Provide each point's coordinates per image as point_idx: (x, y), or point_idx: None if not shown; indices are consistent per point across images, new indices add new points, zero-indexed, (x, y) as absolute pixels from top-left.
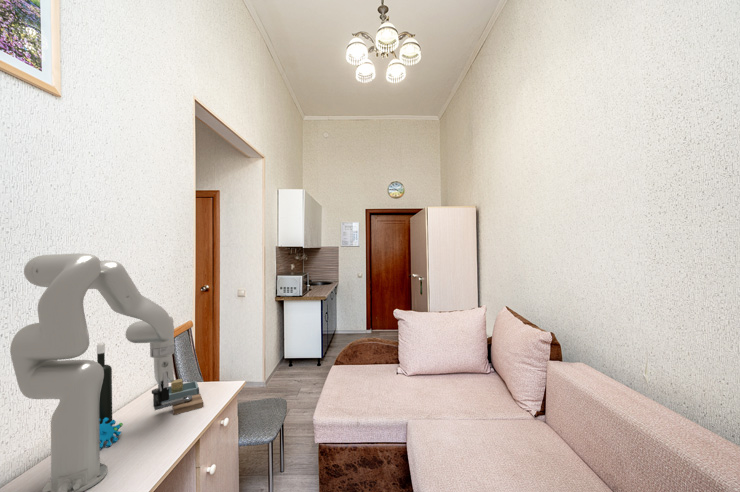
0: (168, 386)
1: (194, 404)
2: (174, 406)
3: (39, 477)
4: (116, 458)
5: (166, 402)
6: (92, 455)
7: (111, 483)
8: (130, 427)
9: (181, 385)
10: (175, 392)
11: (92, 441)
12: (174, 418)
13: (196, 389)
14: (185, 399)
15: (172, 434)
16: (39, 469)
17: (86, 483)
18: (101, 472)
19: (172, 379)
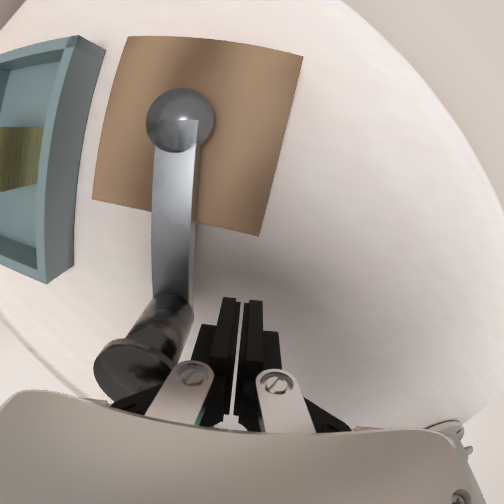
0: (303, 400)
1: (290, 107)
2: (208, 216)
3: None
4: (415, 415)
5: (161, 263)
6: (470, 468)
7: (481, 407)
8: (232, 385)
9: (2, 134)
10: (22, 167)
11: (479, 488)
12: (312, 237)
13: (77, 50)
14: (203, 141)
15: (452, 290)
16: None
17: (459, 440)
18: (453, 430)
19: (459, 460)
